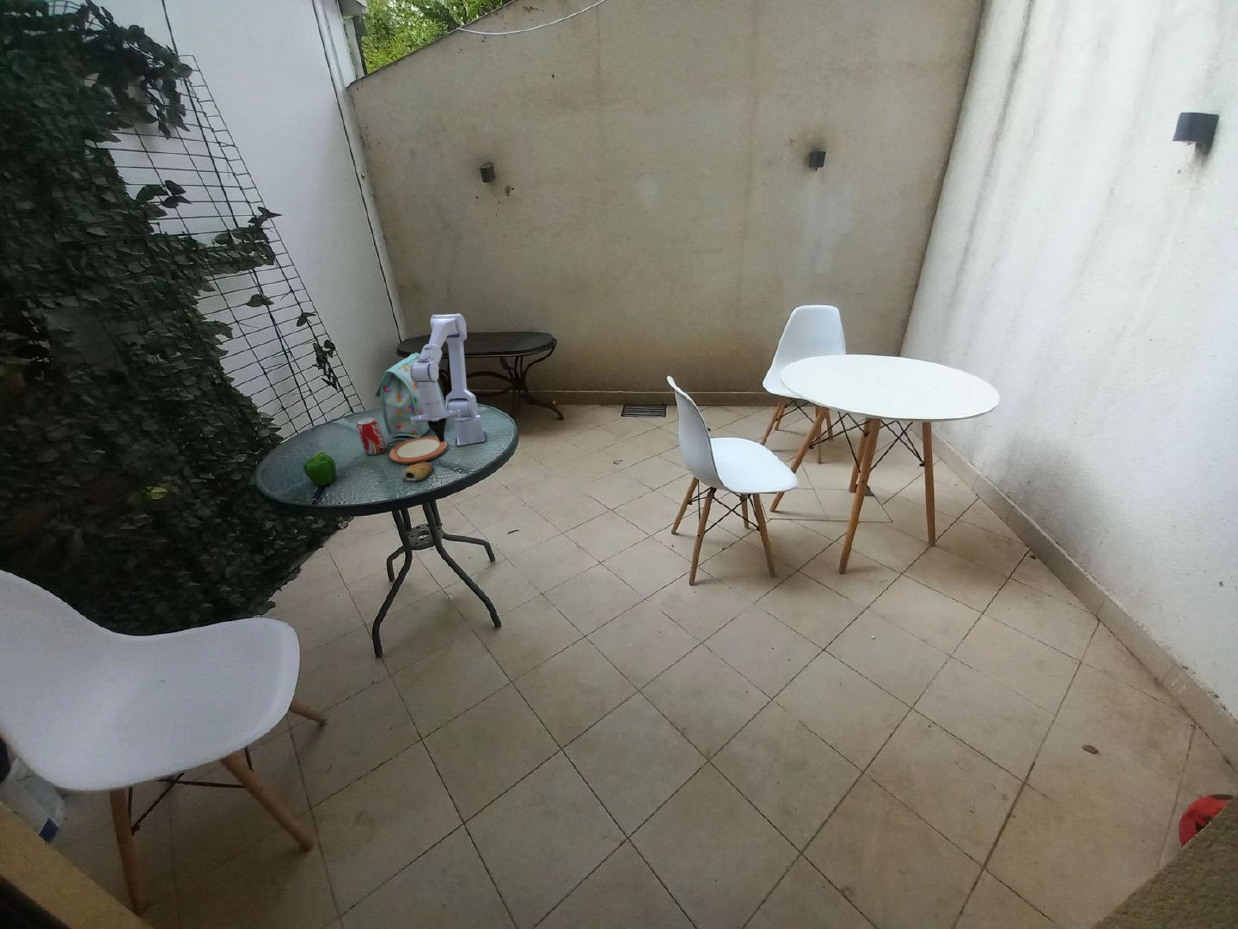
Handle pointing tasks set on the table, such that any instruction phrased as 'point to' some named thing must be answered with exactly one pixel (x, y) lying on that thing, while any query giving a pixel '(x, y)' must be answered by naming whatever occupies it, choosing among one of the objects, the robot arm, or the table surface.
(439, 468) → the table surface
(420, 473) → the pastry
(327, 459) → the bell pepper
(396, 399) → the lunch bag
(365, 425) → the soda can
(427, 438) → the plate
